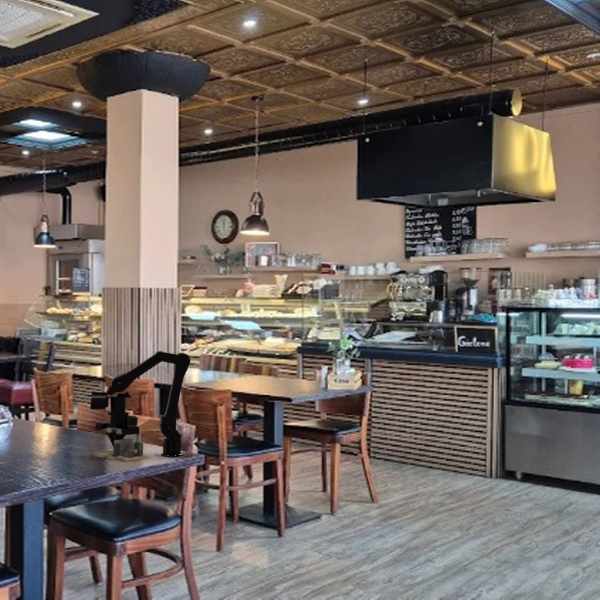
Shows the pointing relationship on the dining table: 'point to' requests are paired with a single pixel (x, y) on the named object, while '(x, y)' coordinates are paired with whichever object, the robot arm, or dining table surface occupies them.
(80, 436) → the dining table surface
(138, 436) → the container
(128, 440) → the grey rectangular block
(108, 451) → the gauge board
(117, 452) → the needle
